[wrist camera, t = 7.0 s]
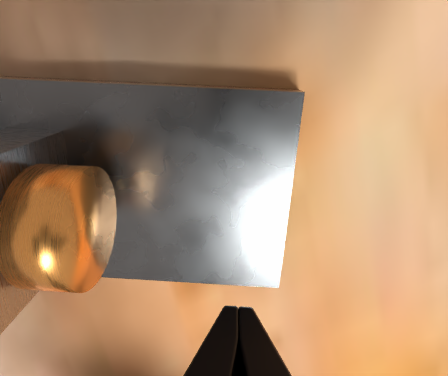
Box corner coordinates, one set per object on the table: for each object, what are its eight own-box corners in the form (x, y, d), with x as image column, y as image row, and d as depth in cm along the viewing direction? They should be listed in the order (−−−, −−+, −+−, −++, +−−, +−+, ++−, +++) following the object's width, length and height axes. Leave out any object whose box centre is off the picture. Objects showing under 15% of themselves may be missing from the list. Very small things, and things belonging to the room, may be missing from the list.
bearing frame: (276, 273, 21) (298, 397, 13) (-121, 249, 22) (-324, 354, 14) (299, 89, 17) (353, 112, 9) (-202, 67, 17) (-568, 70, 9)
